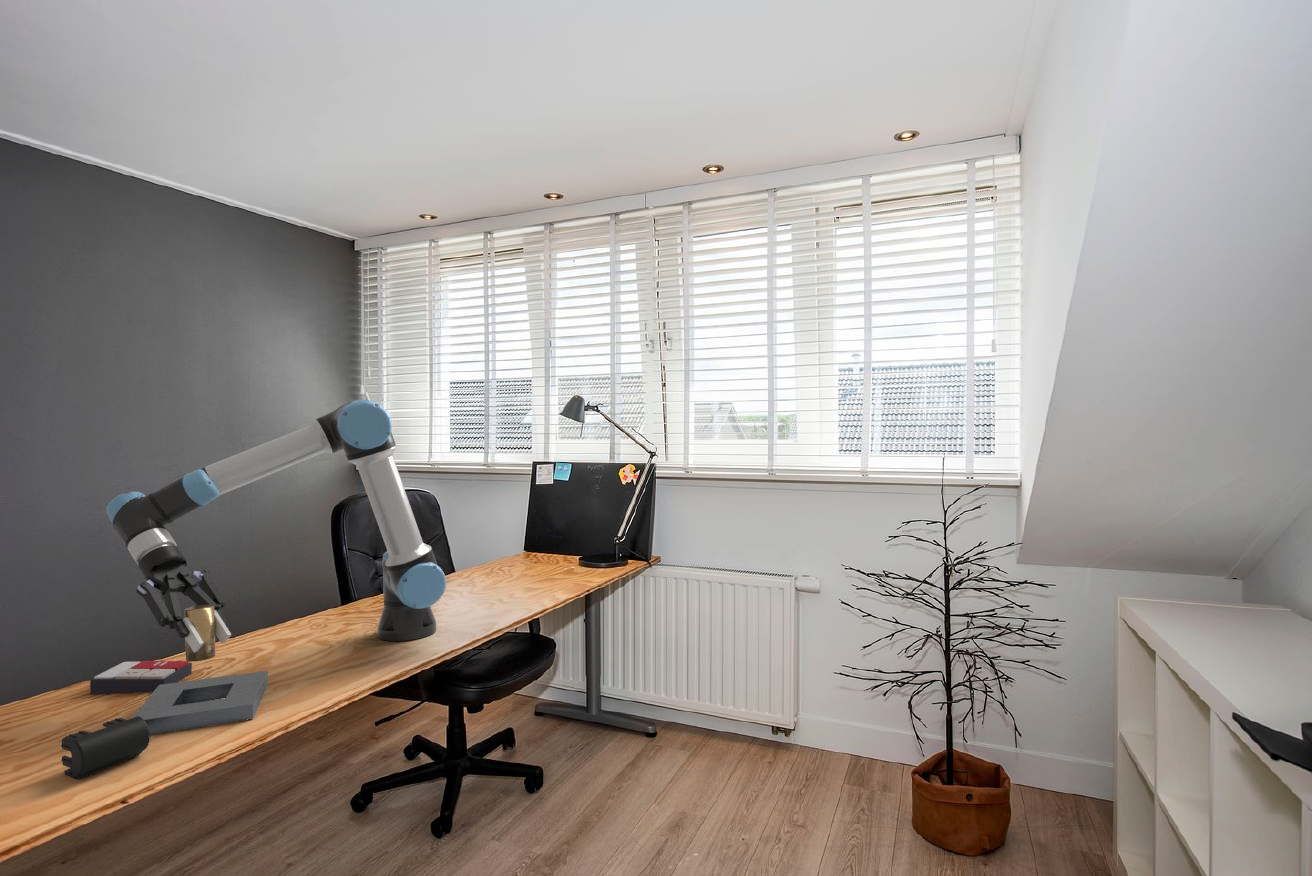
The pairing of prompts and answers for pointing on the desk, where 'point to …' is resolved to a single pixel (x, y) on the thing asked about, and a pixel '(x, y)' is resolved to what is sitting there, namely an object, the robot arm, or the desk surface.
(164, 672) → the calculator
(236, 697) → the frame
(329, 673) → the desk surface
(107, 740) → the end cap
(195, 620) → the metal cylinder
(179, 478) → the robot arm
